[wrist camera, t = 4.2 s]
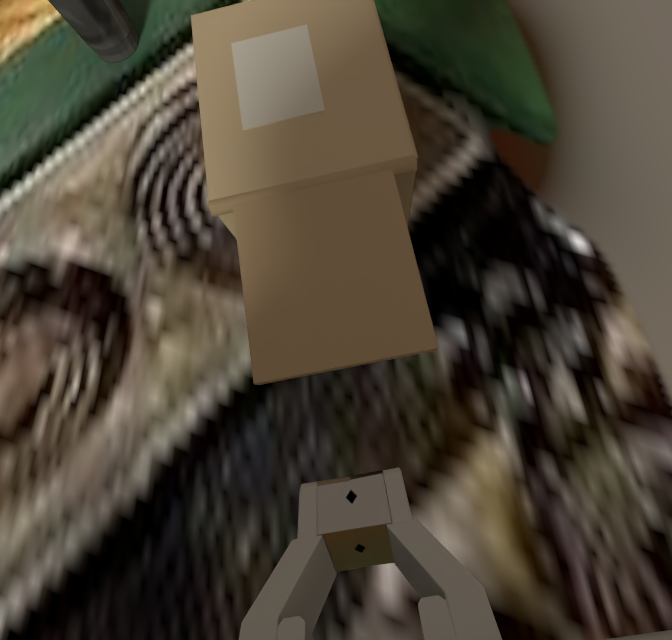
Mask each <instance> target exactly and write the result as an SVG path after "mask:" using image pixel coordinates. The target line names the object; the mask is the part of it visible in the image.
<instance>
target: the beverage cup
mask: <svg viewBox="0 0 672 640" xmlns="http://www.w3.org/2000/svg"><path fill="white" fill-rule="evenodd" d="M48 1H49V2H50V3H51V4H52V5H53V6H54V7H55V9H56V10H57V11H58V12H59V13H60V14H61V15H62V16H63V18H64V19H65V20H66V21H67V22H68V23H69V24H70V25H71V26H72V28H73V29H74V30H75V31H76V32H77V33H78V34H79V35H80V37H81V38H82V39H83V40H84V41H85V42H86V43H87V44H88V45H89V46H90V47H91V48H92V49H93V50H94V51H95V52H96V53H97V54H98V55H99V57H100V58H101V59H102V60H104V61H106V62H111V63H112V62H119V61H122V60H125V59H126V58H128V57H129V56H131V55H132V54H133V53H134V52H135V50H136V48H137V47H138V43H139V38H138V35H137V33H136V32H135V30H134V27H133V25H132V23H131V21H130V18H129V16H128V14H127V13H126V11H125V9H124V7H123V5H122V3H121V1H120V0H48Z"/></svg>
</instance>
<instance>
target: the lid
mask: <svg viewBox="0 0 672 640" xmlns="http://www.w3.org/2000/svg"><path fill="white" fill-rule="evenodd" d="M191 22H192V32H193V42H194V53H195V63H196V73H197V84H198V94H199V104H200V115H201V125H202V135H203V146H204V156H205V166H206V177H207V187H208V198H209V201H208V205H209V209H210V212H211V214H212V215H213V216H219V215H223V214H228V213H232V212H234V218H235V227H236V235H237V244H238V252H239V261H240V270H241V278H242V287H243V295H244V304H245V313H246V321H247V330H248V338H249V347H250V356H251V364H252V373H253V381H254V384H257V385H260V384H265V383H271V382H276V381H281V380H286V379H291V378H296V377H302V376H307V375H312V374H317V373H322V372H327V371H333V370H338V369H343V368H348V367H353V366H358V365H364V364H369V363H374V362H379V361H384V360H389V359H394V358H400V357H405V356H410V355H415V354H420V353H425V352H431V351H436V350H437V349H438V344H437V340H436V337H435V333H434V329H433V325H432V321H431V317H430V313H429V309H428V305H427V302H426V298H425V294H424V290H423V286H422V282H421V278H420V274H419V270H418V267H417V263H416V259H415V255H414V251H413V247H412V243H411V239H410V235H409V232H408V228H407V224H406V220H405V216H404V212H403V208H402V204H401V200H400V197H399V193H398V189H397V185H396V181H395V177H394V176H398V175H403V174H407V173H412V172H416V171H417V160H416V156H415V154H414V151H413V147H412V144H411V140H410V136H409V133H408V129H407V126H406V122H405V119H404V115H403V111H402V108H401V104H400V101H399V97H398V94H397V90H396V86H395V83H394V79H393V76H392V72H391V68H390V65H389V61H388V58H387V54H386V51H385V47H384V43H383V40H382V36H381V33H380V29H379V26H378V22H377V18H376V15H375V11H374V8H373V4H372V1H371V0H250V1H246V2H242V3H239V4H235V5H231V6H227V7H223V8H219V9H215V10H211V11H207V12H203V13H200V14H196V15H192V16H191Z"/></svg>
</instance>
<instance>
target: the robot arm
mask: <svg viewBox="0 0 672 640" xmlns="http://www.w3.org/2000/svg"><path fill="white" fill-rule="evenodd" d="M387 563H395V564H396V566H397V567H398V568H399V570H400V571H401V572H402V574H403V575H404V576H405V578H406V579H407V580H408V582H409V583H410V584H411V586H412V587H413V588H414V590H415V591H416V593H417V594H418V595H419V597H420V598H421V600H420V602H419V604H418V608H419V614H420V619H421V625H422V630H423V636H424V640H502V638H501V636H500V633H499V630H498V627H497V624H496V621H495V618H494V616H493V613H492V610H491V607H490V604H489V601H488V598H487V595H486V593H485V590H484V587H483V586H482V585H481V584H480V583H479V582H478V581H477V580H476V579H475V578H474V577H473V576H472V575H471V574H470V573H469V572H468V571H467V570H466V569H465V568H464V567H463V566H462V565H461V564H460V563H459V562H458V560H457V559H456V558H455V557H454V556H453V555H452V554H451V553H450V552H449V551H448V550H447V549H446V548H445V547H444V546H443V545H442V544H441V543H440V542H439V541H438V540H437V539H436V538H435V537H434V536H433V535H432V534H431V533H430V532H429V531H428V530H427V529H426V528H425V527H424V526H423V525H422V524H421V523H420V522H419V521H418V520H412V517H411V512H410V508H409V504H408V499H407V495H406V491H405V486H404V482H403V478H402V474H401V470H400V468H394V469H389V470H383V471H382V470H380V471H375V472H370V473H364V474H359V475H354V476H350V477H346V478H339V479H332V480H325V481H318V482H312V483H306V484H301V487H300V495H299V517H298V538H297V539H294V540H292V541H291V543H290V545H289V546H288V548H287V550H286V551H285V553H284V555H283V556H282V558H281V559H280V561H279V563H278V564H277V566H276V568H275V569H274V571H273V572H272V574H271V576H270V577H269V579H268V581H267V582H266V584H265V585H264V587H263V589H262V590H261V592H260V594H259V595H258V597H257V598H256V600H255V602H254V603H253V605H252V607H251V608H250V610H249V611H248V613H247V615H246V616H245V618H244V620H243V621H242V624H241V630H240V637H239V640H314V638H313V636H312V631H313V629H314V627H315V624H316V622H317V619H318V617H319V615H320V612H321V610H322V607H323V605H324V603H325V600H326V598H327V595H328V593H329V591H330V588H331V586H332V583H333V581H334V579H335V576H336V572H337V571H342V570H348V569H353V568H358V567H364V566H371V565H379V564H387ZM604 640H672V630H669V631H661V632H654V633H647V634H640V635H632V636H625V637H618V638H611V639H604Z"/></svg>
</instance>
